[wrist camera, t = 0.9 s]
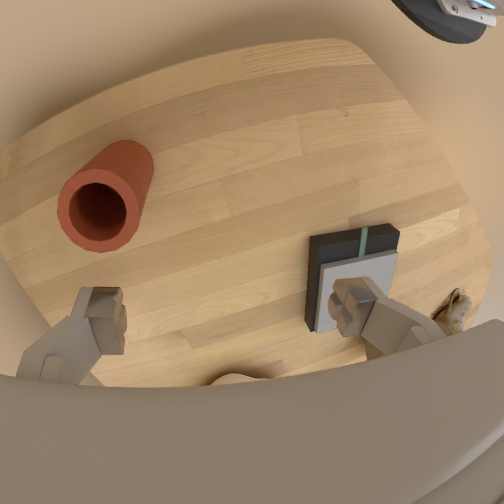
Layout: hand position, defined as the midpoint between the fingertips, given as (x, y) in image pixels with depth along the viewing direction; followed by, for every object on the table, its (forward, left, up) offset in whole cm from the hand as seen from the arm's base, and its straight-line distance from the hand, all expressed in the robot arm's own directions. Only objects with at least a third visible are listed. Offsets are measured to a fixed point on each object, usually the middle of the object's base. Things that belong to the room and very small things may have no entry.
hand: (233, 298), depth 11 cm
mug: (-47, +33, -20) cm, 61 cm away
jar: (+7, -1, -20) cm, 21 cm away
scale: (-18, +17, -20) cm, 32 cm away
